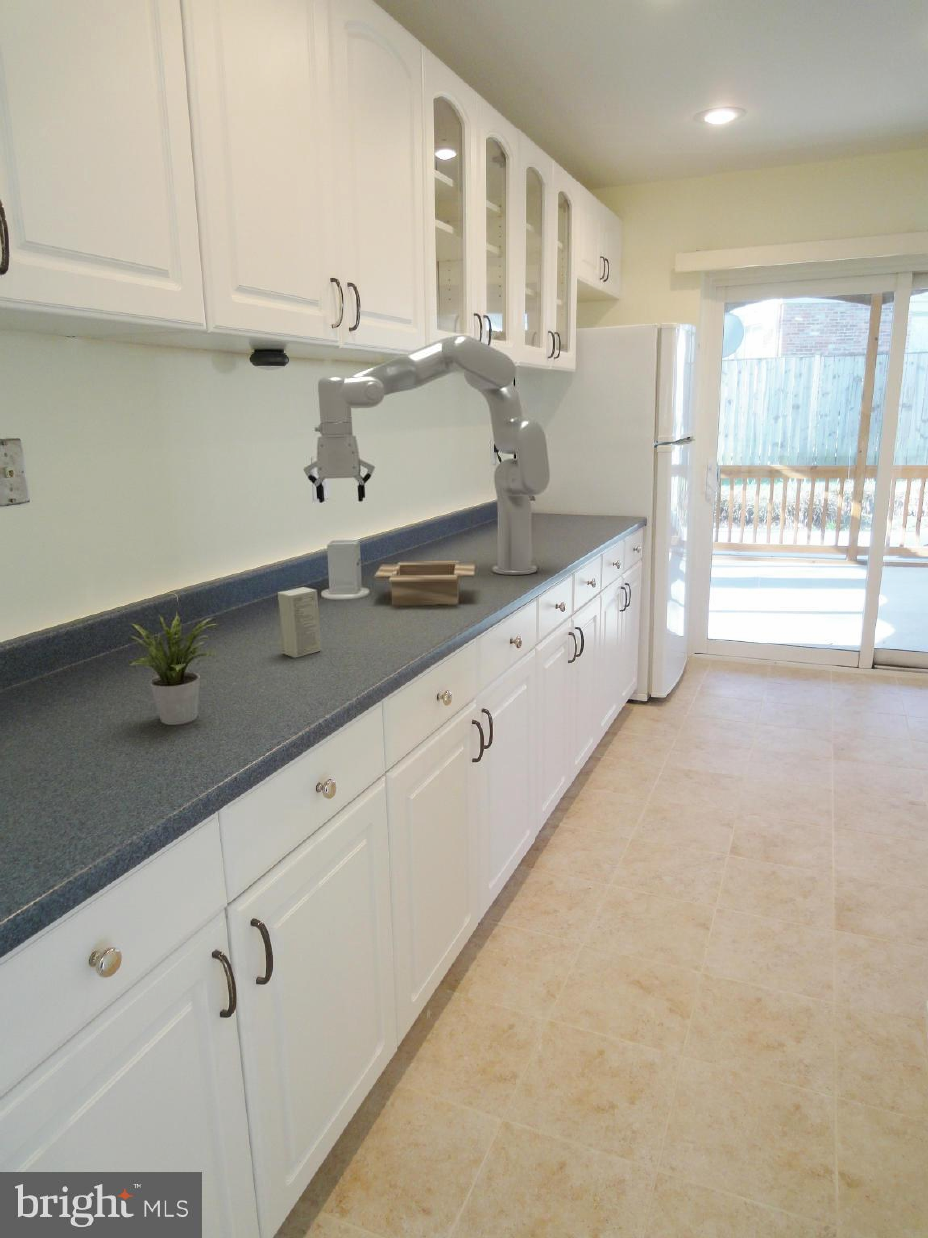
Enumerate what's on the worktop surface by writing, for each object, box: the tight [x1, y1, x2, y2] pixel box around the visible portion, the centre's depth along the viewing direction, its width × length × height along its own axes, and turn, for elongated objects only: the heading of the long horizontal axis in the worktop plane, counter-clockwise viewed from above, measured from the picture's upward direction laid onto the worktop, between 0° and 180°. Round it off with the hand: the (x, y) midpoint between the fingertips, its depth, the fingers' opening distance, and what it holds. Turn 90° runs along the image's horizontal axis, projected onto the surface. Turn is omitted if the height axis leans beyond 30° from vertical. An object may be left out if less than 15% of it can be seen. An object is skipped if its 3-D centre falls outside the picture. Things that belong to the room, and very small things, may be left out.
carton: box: [373, 560, 476, 606], centre depth 199 cm, size 24×24×7 cm
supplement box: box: [326, 539, 363, 594], centre depth 204 cm, size 7×7×13 cm
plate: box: [320, 586, 370, 601], centre depth 205 cm, size 12×12×1 cm
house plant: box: [129, 611, 219, 726], centre depth 119 cm, size 14×14×16 cm
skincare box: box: [277, 586, 322, 659], centre depth 153 cm, size 6×4×12 cm
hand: (341, 501), depth 200 cm, fingers open, 9 cm apart
